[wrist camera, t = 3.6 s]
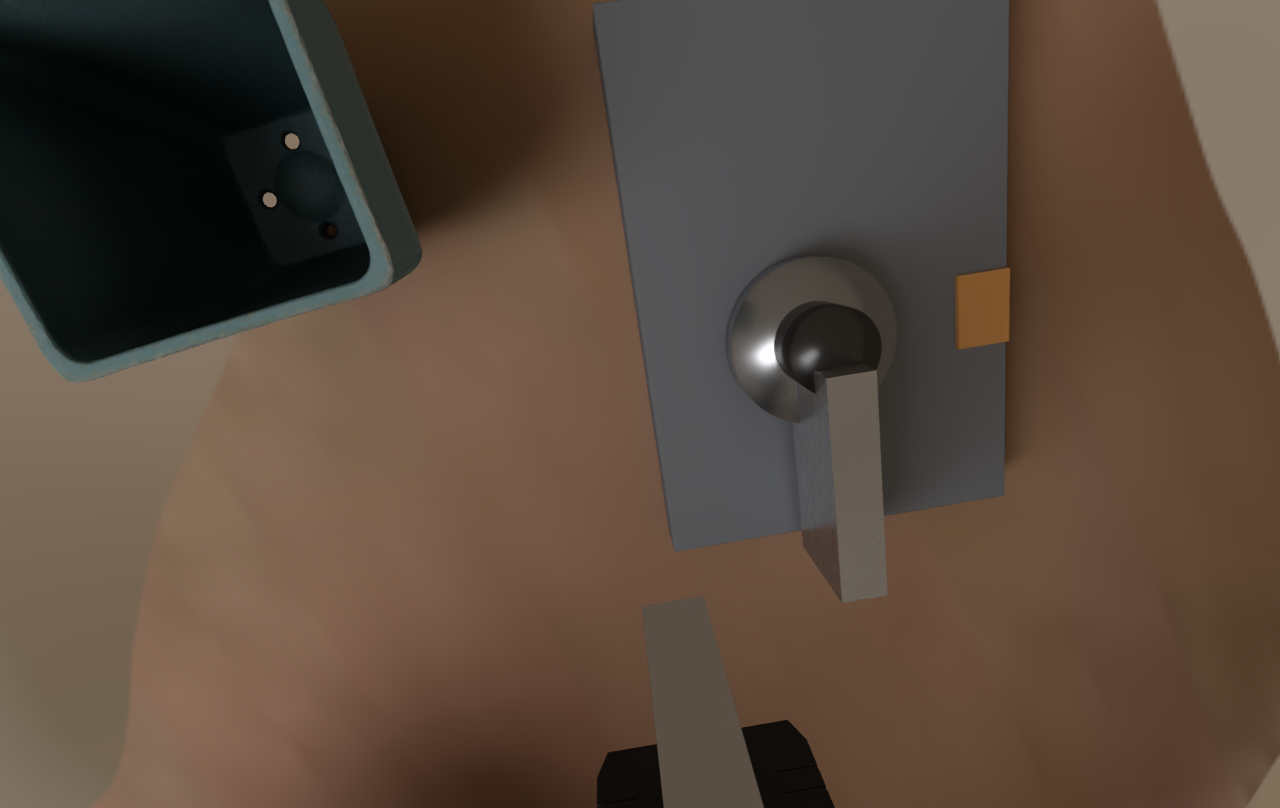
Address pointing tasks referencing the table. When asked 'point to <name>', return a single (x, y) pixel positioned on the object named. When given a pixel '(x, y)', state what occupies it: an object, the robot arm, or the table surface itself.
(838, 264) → the dial lever
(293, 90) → the flower pot
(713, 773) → the robot arm
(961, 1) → the dial plate
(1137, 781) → the table surface
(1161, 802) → the table surface
